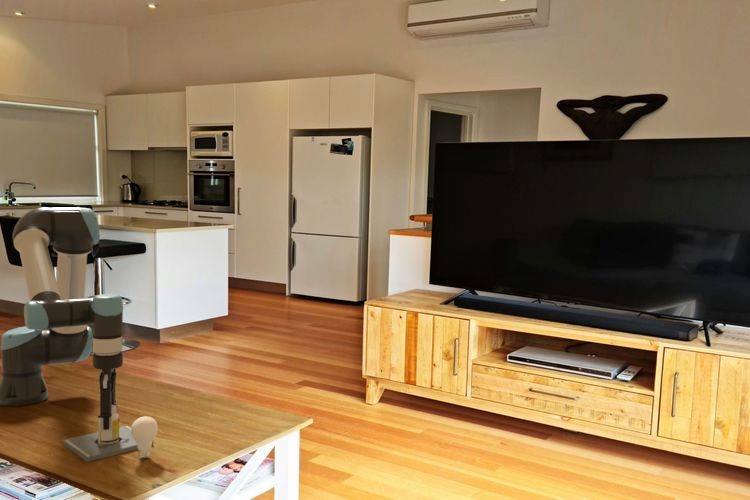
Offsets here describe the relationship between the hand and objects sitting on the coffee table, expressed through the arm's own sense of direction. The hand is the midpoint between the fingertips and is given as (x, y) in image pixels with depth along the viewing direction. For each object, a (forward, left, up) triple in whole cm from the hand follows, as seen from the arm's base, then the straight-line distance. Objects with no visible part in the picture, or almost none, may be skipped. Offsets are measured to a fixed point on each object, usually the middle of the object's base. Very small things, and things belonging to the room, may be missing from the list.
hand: (108, 435), depth 185 cm
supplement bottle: (0, 0, -2) cm, 2 cm away
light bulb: (+15, +3, -3) cm, 16 cm away
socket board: (0, 0, -3) cm, 3 cm away
